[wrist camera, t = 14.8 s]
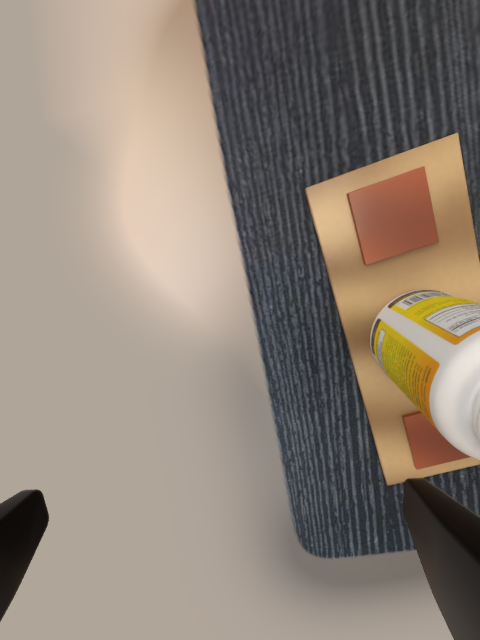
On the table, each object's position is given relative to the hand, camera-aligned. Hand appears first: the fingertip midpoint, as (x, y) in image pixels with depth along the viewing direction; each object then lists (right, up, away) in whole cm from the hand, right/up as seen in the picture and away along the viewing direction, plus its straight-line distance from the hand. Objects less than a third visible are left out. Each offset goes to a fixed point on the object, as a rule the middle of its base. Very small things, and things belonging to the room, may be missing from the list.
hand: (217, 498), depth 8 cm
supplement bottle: (+11, +4, +12) cm, 16 cm away
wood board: (+11, +4, +12) cm, 17 cm away
